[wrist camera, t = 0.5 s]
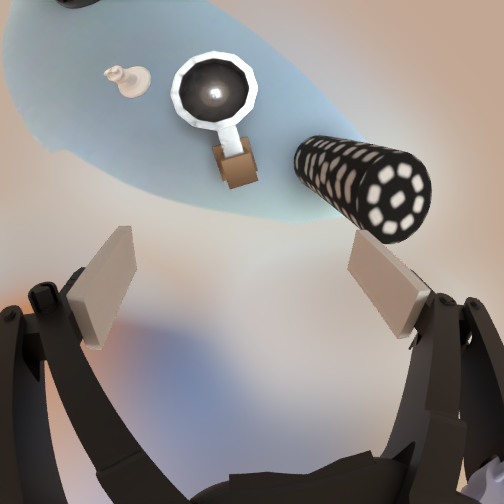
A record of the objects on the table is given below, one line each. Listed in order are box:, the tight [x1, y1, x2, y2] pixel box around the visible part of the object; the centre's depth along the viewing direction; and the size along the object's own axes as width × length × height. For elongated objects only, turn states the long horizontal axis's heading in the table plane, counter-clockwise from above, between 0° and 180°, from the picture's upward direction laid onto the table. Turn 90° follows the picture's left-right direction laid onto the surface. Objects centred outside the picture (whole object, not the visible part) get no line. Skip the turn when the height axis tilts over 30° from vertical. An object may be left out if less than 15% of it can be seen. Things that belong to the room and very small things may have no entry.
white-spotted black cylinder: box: [294, 135, 432, 244], centre depth 29 cm, size 8×8×20 cm
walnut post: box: [212, 137, 258, 189], centre depth 32 cm, size 5×5×12 cm
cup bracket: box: [170, 51, 258, 158], centre depth 26 cm, size 14×9×3 cm, turn 16°
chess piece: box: [104, 66, 151, 98], centre depth 25 cm, size 5×5×10 cm
